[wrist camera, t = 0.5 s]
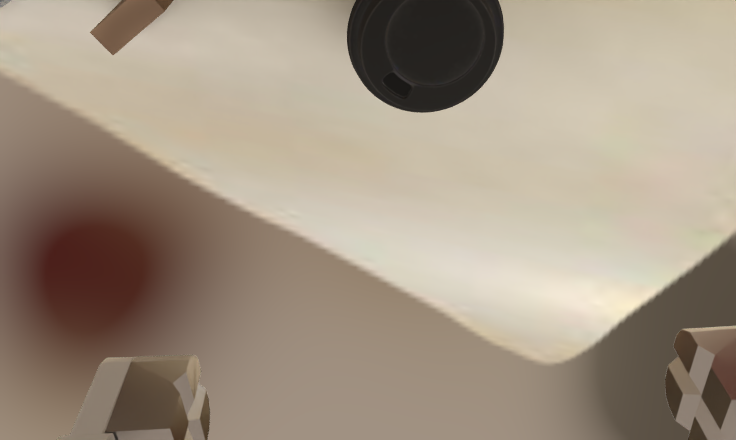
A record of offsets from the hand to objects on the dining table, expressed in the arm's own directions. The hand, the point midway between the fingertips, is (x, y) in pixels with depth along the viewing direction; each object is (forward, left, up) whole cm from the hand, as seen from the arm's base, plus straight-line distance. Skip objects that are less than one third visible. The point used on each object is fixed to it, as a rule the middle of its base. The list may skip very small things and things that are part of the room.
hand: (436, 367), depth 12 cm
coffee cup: (+5, +3, -45) cm, 45 cm away
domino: (+6, -16, -45) cm, 48 cm away
